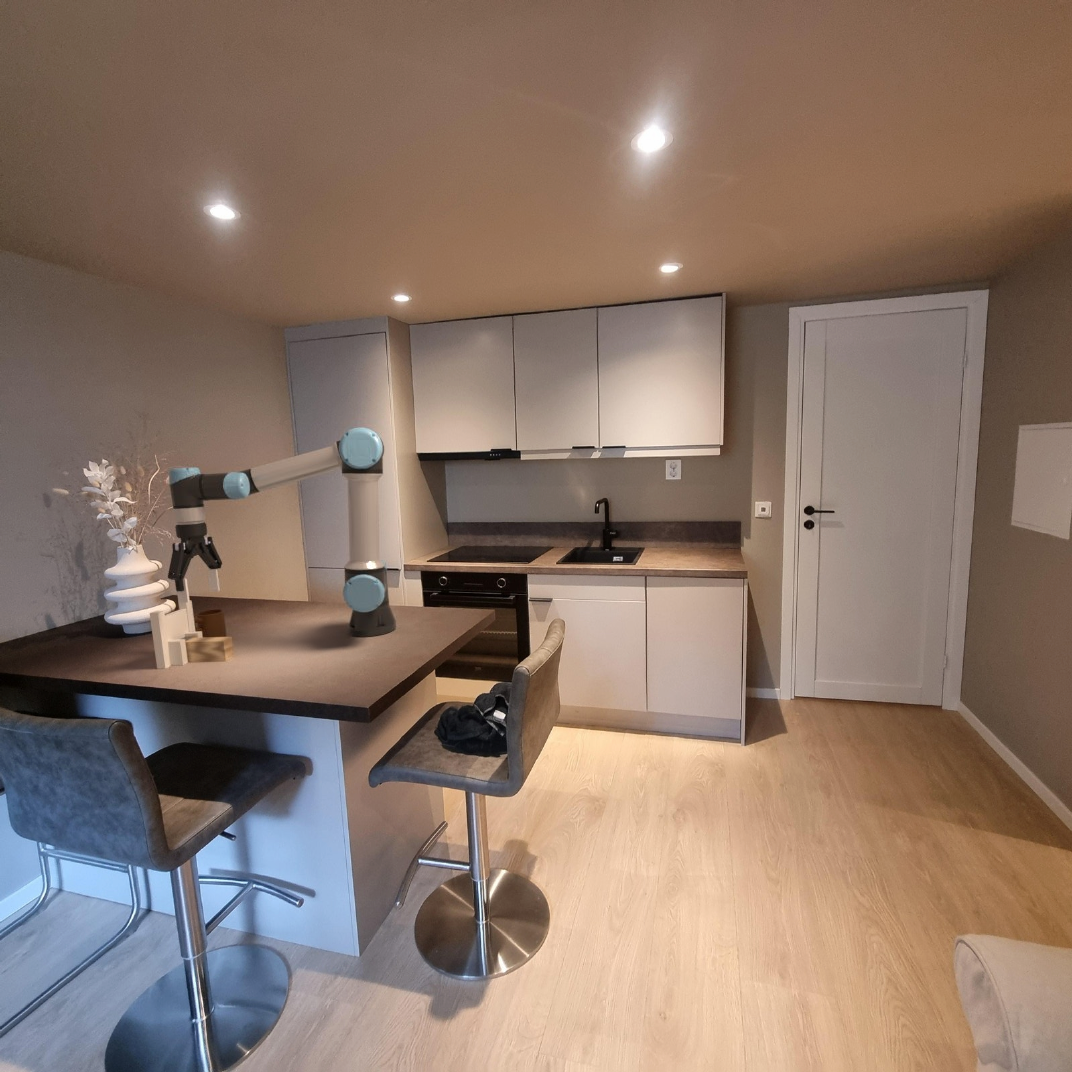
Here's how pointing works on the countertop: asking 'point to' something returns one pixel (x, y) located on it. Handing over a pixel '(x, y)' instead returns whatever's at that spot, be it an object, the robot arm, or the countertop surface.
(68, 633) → the countertop surface
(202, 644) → the wooden block
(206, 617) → the mug
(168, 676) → the countertop surface
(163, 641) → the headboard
